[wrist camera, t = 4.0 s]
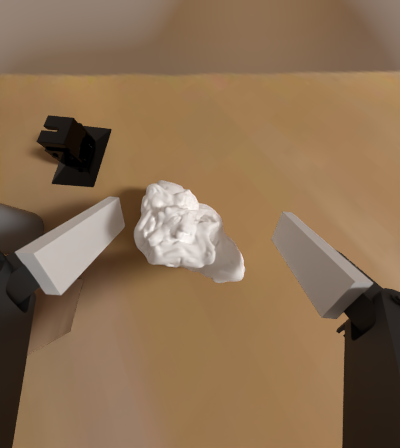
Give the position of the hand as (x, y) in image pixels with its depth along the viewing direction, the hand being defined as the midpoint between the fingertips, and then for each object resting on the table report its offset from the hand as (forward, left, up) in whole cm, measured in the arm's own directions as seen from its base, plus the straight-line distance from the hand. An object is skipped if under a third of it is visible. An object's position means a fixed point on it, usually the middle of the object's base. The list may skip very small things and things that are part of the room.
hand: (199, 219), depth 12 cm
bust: (-1, -1, -6) cm, 6 cm away
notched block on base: (-16, +9, -6) cm, 20 cm away
